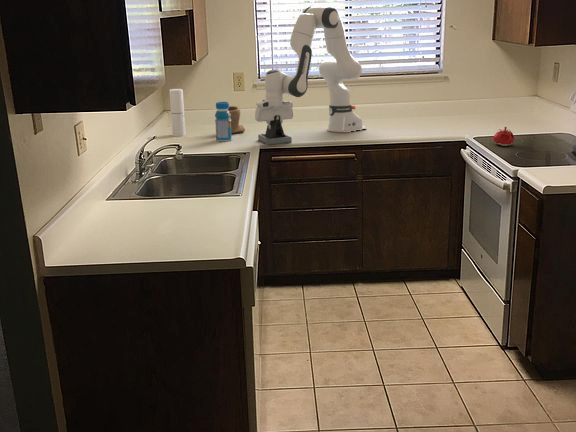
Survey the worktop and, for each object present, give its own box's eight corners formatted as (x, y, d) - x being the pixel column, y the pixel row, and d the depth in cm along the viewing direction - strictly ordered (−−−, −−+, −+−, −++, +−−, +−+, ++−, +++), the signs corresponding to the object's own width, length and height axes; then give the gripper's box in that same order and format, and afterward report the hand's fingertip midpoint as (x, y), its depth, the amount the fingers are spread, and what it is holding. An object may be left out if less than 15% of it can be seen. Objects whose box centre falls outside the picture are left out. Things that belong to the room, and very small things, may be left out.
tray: (281, 137, 343) (280, 132, 342) (291, 142, 331) (291, 136, 330) (258, 140, 338) (258, 134, 338) (268, 145, 326) (267, 139, 325)
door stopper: (271, 139, 329) (271, 116, 325) (264, 138, 333) (264, 115, 330) (285, 137, 335) (284, 114, 331) (277, 135, 339) (277, 113, 335)
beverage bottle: (220, 142, 334) (218, 104, 328) (213, 139, 341) (211, 102, 334) (234, 140, 338) (233, 102, 332) (227, 138, 345) (225, 100, 339)
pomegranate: (488, 145, 320) (489, 126, 318) (504, 142, 324) (506, 124, 321) (502, 148, 312) (503, 129, 309) (518, 146, 315) (519, 127, 312)
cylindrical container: (170, 135, 354) (166, 89, 346) (180, 133, 359) (177, 88, 351) (178, 137, 350) (174, 90, 342) (188, 135, 355) (185, 89, 347)
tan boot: (226, 136, 350) (224, 108, 345) (216, 133, 359) (215, 106, 355) (250, 133, 357) (249, 106, 353) (240, 130, 367) (239, 103, 362)
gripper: (290, 99, 335) (290, 126, 339) (253, 102, 327) (254, 129, 332) (295, 101, 329) (295, 128, 334) (257, 104, 322) (258, 131, 326)
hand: (274, 128), depth 333 cm, fingers closed on door stopper, 3 cm apart
